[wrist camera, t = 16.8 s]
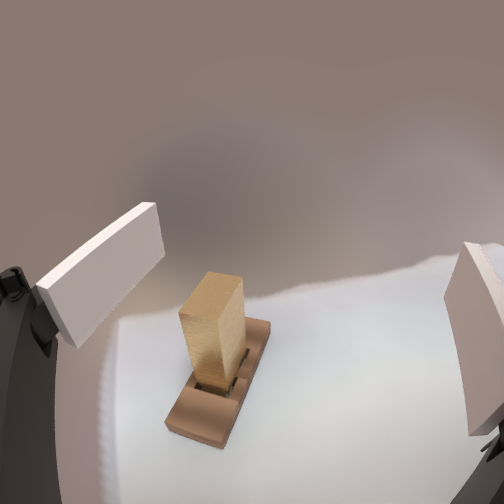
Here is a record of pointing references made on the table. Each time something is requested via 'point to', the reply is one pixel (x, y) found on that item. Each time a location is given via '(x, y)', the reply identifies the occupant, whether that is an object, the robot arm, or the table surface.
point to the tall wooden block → (215, 331)
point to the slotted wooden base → (215, 407)
